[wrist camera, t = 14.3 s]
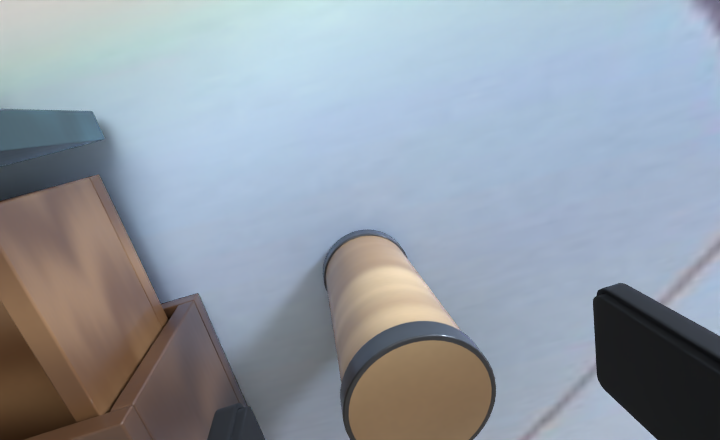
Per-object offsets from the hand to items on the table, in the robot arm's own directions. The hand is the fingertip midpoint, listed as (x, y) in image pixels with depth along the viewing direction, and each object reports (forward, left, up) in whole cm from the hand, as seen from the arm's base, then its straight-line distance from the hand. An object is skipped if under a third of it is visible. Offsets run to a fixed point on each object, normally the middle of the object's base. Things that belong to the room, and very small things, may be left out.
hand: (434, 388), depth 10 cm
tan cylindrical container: (+1, 0, -11) cm, 11 cm away
